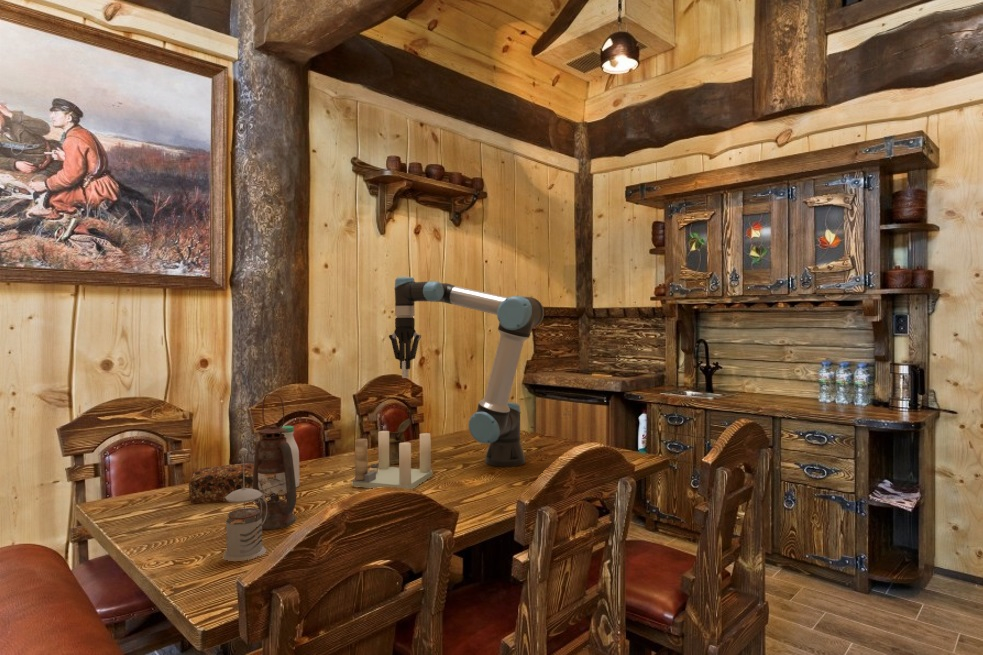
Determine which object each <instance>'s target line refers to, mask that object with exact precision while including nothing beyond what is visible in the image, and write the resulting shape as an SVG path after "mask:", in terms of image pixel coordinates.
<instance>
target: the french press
mask: <svg viewBox="0 0 983 655" xmlns="http://www.w3.org/2000/svg"><path fill="white" fill-rule="evenodd" d="M248 453H249V450H248V449H247V448H245V447H242V448H240V449H239V450H238V454H240V455H242V464H243V488H242V489H239V490H235V491H233V492H231V493H230V494H229V495H227V496H226V497H225V498H226V500H227V501H226V502H228V503H234V504H235V503H237V504H240V503H243V508H238V509H237V508H236V509H234V510H232V511H230V512H229V513H227V520H226V521H225V524H226V525H225V526H226V527H225V529H226V530H225V531H226V540H225V541H226V545H225V546H226V551H224V553H223V554H224V555H223V554H222V556H223V557H224V559H225V560H224V561H226V560H228V561H227V562H229V561H242V560H247V559H248V561H250V560H249V559H252V558H255V557H257V556H261V555H262V556H264V555H266V553H267V551H266V550H267V548H266V547H265V548H266V549H265V548H264V545H263V530H262V524H263V523H264V521H265V520H266V516H267V503H266V501H267V500H266V498H265V499H264V497H263V498H262V497H261V496H262V493H261V492H260V491H258V490H255V489H249V488H244V464H245V454H248ZM259 498H262V499H263V500H264V501H265V503H266V515H265V519H264V521H263V523H262V516H261V514H262V504H261V500H260V499H259ZM257 499H258V502H255V501H254V500H257ZM259 501H260V504H261V513H260V510H259V509H257V508H258V507H257V508H256V507H246V504H245V503H249V502H252V503H254V504H255V503H259ZM259 513H260V515H258V514H259ZM256 516H257V521H256V522H255V517H256ZM234 521H243V522H234ZM256 527H257V528H256ZM265 552H266V553H265ZM263 554H264V555H263ZM262 556H261V557H262ZM242 562H243V561H242Z"/></svg>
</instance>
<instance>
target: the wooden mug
mask: <svg viewBox="0 0 983 655" xmlns="http://www.w3.org/2000/svg"><path fill="white" fill-rule="evenodd" d="M410 425H411V419H410V418H409V417H408V418H406V419H404V420H403V421H401V423H400V424H399V425H398V427H397V430H396V431H395V432H394V431H389V466H395V465H394V464H396V465H399V443H403V442H406V436H405V434H404V433H405V432H406V430H407V429H408V428H409V427H410Z"/></svg>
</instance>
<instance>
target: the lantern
mask: <svg viewBox="0 0 983 655" xmlns="http://www.w3.org/2000/svg"><path fill="white" fill-rule="evenodd" d="M268 396H270V397H272V396H273V397H277V398H279V400H280V403H281V407H282V424H281V426H279V427H278V426H277V425H270V426H269V425H267V424H266V422H265V417H264V415H265V413H264V411H265V410H264V408H265V401H266V398H267V397H268ZM261 414H262V422H263V425H264V426H265V427H266V428H263V429H260V430H259V431H258V434H261V435H262V436H261V438H260V439H259V440H258V441H257V443H256V448H255V453H254V462H253V464H254V472H253V489H255V490H258V491H260V492H261V493H262V496H261V497H262V498H264V499H265V501H266V503H267V516H266V520H265V521H264V519H265V515H266V503H265V501H264V500H263V499H262V498H259V499H260V500H261V504H262V514H261V516H262V523H263V521H264V523H263V524H262V529H271V530H276V529H275V528H279V529H282V528H281V527H283V528H286V527H285V526H287V527H289V526H291V525H294V523H295V522H296V515H295V514H294V513H293V511H294V509H295V507H296V505H297V504H296V503H297V487H296V483H295V474H294V465H293V457H292V451H291V448H290V445H289V444H288V443H287V442H286V437H284V436H285V435H284V434H282V433H283V432H286V431H288V429H286V428H282V426H284V423H285V408H284V402H283V399H282V397H281V396H280V395H278V394H271V393H270V394H269V393H268V394H266V395H265V396H264V398H263V402H262V412H261ZM284 472H285V473H284ZM278 473H279V474H278ZM275 474H277V476H276V479H275V476H274V475H275ZM270 475H272V477H271V476H270ZM284 477H285V479H284ZM285 480H286V481H285ZM277 481H278V482H277ZM284 481H285V482H284ZM281 482H283V483H282V484H281ZM275 484H277V485H275ZM278 485H279V486H278ZM283 485H284V487H283V488H282V486H283ZM275 486H276V487H275ZM277 486H278V487H277ZM281 489H283V490H281ZM280 492H281V493H280ZM279 493H280V494H279ZM280 497H282V498H284V499H280ZM267 500H268V501H267ZM254 502H258V499H257V500H254ZM254 504H255V505H256V506H257V509H259V510H260V513H261V504H260V501H259V503H254ZM260 513H259V514H258V515H260ZM256 521H257V516H255V522H256ZM255 529H257V527H256V528H255Z"/></svg>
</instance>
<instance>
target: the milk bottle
mask: <svg viewBox="0 0 983 655" xmlns="http://www.w3.org/2000/svg"><path fill="white" fill-rule="evenodd" d="M281 426H282V425H281ZM282 428H286V429H288V431H286V432H283V433H282V434H284V435H285V436H284V437H286V442H287V443H288V444H289V445H290V448H291V451H292V457H293V465H294V474H295V483H296V488H298V487H299V486H300V451H299V447H298V446H299V445H298V444H297V442H296V440H295V437H294V434H295V427H294V426H293V425H283V426H282ZM284 473H285V472H284ZM278 474H279V473H278ZM276 476H277V474H274V477H275V479H276ZM284 479H285V477H284ZM285 481H286V480H285ZM285 481H284V482H285ZM277 482H278V481H277ZM282 483H283V482H281V484H282ZM275 485H277V484H275ZM278 486H279V485H278ZM278 486H277V487H278ZM275 487H276V486H275ZM283 487H284V485H283V486H282V488H283ZM280 491H283V489H281V490H280Z"/></svg>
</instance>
